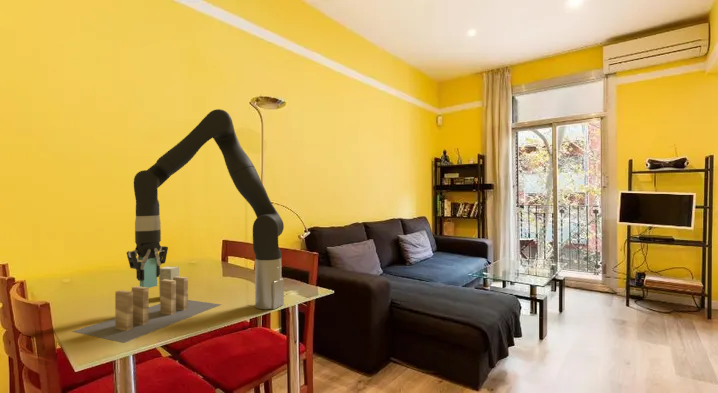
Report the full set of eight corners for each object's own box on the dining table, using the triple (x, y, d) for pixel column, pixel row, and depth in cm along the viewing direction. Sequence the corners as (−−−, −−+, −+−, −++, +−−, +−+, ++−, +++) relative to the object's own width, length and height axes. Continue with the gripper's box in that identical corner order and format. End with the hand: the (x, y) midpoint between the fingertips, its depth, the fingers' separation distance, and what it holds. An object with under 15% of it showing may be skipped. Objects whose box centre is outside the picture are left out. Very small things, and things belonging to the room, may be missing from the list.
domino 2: (157, 285, 122) (156, 254, 122) (143, 289, 117) (143, 256, 117) (153, 285, 122) (152, 254, 122) (139, 289, 117) (139, 256, 118)
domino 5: (177, 307, 124) (177, 276, 124) (188, 308, 122) (188, 277, 122) (173, 308, 123) (173, 277, 123) (183, 310, 121) (183, 278, 121)
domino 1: (121, 326, 106) (121, 290, 106) (132, 328, 104) (132, 291, 104) (115, 328, 104) (115, 291, 104) (126, 330, 102) (127, 293, 102)
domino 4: (165, 311, 120) (165, 279, 120) (175, 313, 118) (175, 280, 118) (160, 313, 118) (160, 280, 118) (171, 314, 116) (171, 281, 116)
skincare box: (180, 297, 138) (180, 266, 138) (170, 300, 134) (170, 268, 134) (167, 296, 140) (168, 265, 140) (158, 299, 136) (158, 267, 136)
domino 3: (137, 321, 110) (137, 286, 110) (148, 323, 108) (148, 287, 109) (131, 322, 109) (131, 287, 109) (143, 325, 107) (143, 289, 107)
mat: (221, 305, 127) (221, 304, 127) (123, 344, 94) (123, 342, 94) (176, 299, 135) (176, 298, 135) (72, 332, 102) (72, 331, 102)
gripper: (135, 231, 112) (136, 284, 112) (173, 227, 125) (174, 275, 125) (119, 230, 114) (120, 282, 114) (158, 227, 128) (159, 273, 128)
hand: (148, 278), depth 120 cm, fingers closed on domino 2, 5 cm apart
